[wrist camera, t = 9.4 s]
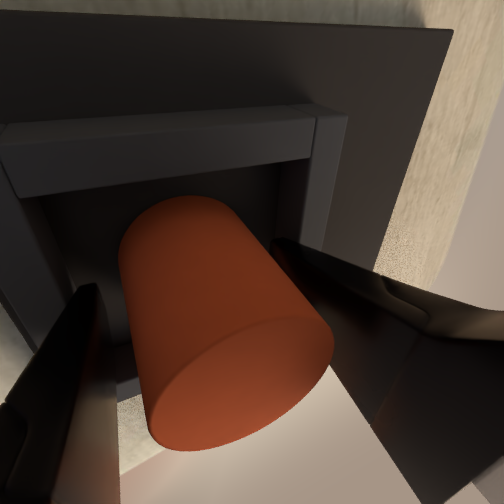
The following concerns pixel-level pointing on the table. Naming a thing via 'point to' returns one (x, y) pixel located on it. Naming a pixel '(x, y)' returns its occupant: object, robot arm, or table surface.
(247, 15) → the table surface
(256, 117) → the base pad
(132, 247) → the orange cylinder
